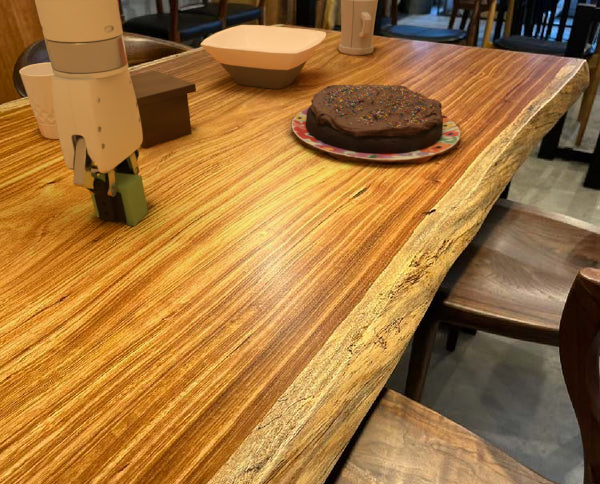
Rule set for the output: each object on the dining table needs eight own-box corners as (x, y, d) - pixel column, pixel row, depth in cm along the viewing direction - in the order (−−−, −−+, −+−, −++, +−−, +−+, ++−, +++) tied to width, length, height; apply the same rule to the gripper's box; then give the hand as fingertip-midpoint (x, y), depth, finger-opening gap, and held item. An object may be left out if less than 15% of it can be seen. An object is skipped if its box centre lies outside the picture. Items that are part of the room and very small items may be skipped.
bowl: (301, 102, 103) (302, 54, 97) (194, 89, 108) (189, 44, 103) (333, 72, 119) (334, 31, 114) (238, 63, 125) (236, 23, 120)
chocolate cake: (478, 169, 78) (488, 125, 75) (287, 166, 79) (287, 121, 75) (441, 107, 101) (447, 71, 97) (293, 105, 101) (293, 68, 97)
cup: (385, 52, 135) (391, -2, 127) (364, 59, 129) (369, 3, 122) (352, 45, 140) (355, -7, 133) (330, 51, 135) (333, -3, 127)
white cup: (69, 121, 93) (53, 59, 87) (98, 130, 89) (84, 67, 83) (28, 134, 88) (8, 69, 82) (57, 145, 84) (39, 78, 78)
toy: (97, 221, 65) (87, 183, 62) (111, 207, 68) (103, 170, 65) (135, 226, 64) (127, 188, 61) (148, 212, 67) (141, 175, 64)
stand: (105, 134, 88) (95, 83, 83) (161, 117, 95) (154, 70, 90) (144, 152, 82) (134, 99, 77) (200, 133, 89) (195, 83, 84)
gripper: (97, 35, 62) (126, 182, 73) (3, 73, 49) (56, 244, 60) (157, 39, 60) (178, 188, 72) (77, 79, 48) (117, 253, 59)
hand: (122, 212), depth 66 cm, fingers closed on toy, 3 cm apart
